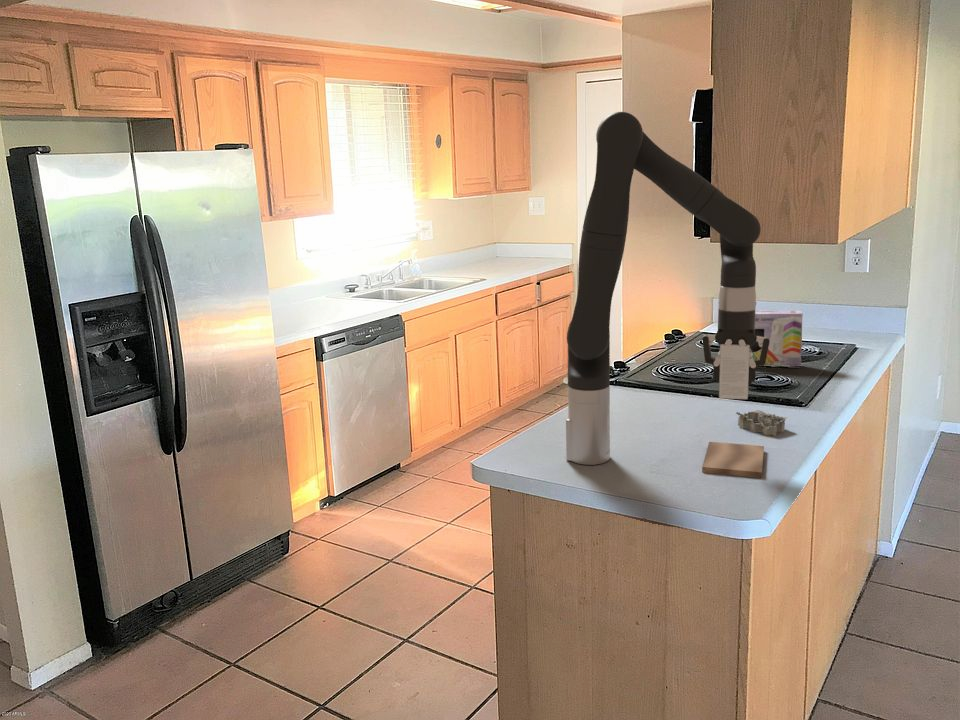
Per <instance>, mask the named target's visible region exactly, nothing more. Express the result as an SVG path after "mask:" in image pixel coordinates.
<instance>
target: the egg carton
mask: <svg viewBox="0 0 960 720" xmlns="http://www.w3.org/2000/svg"><path fill="white" fill-rule="evenodd" d="M735 415H737V416H738V417H737V418H738V420H737V426H738V427H740V429H742V428H743V429H748V428H749V430H750V432H753V433H755V432H758V433H762V435H764V436H776V435H777V433H778V432H779V433H784V432H785V424H786V423H785V421H786V420H787V419H788V416H779V415H776V414H775V413H773V414H772V413H767V412H764V411H762V410H760V409H756V410H752V411H748V412H744V414H743V413H740V412H739V411H737V412H736V413H735ZM754 421H756V423H755V422H754Z"/></svg>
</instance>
